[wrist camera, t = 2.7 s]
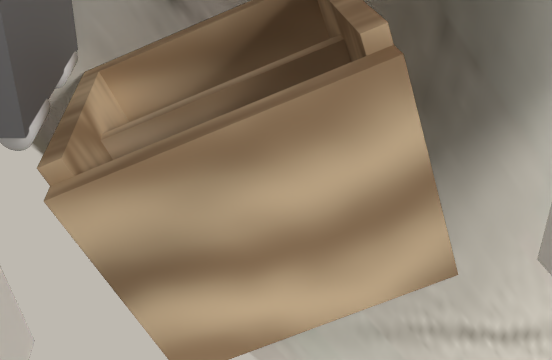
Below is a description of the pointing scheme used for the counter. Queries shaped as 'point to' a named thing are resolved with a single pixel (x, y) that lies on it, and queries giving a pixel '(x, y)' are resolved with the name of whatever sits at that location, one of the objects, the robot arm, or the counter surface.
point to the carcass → (251, 176)
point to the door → (32, 64)
